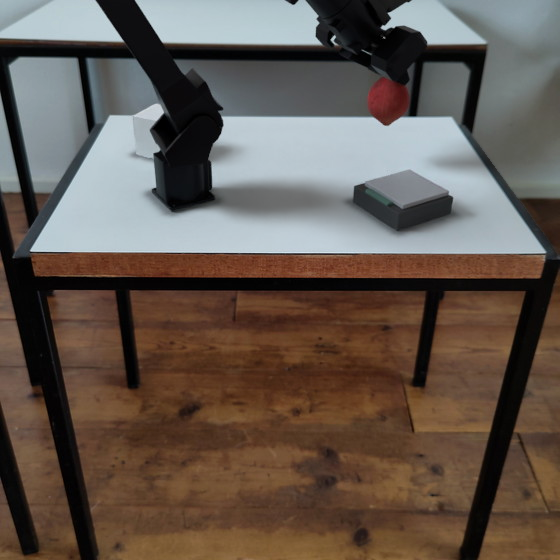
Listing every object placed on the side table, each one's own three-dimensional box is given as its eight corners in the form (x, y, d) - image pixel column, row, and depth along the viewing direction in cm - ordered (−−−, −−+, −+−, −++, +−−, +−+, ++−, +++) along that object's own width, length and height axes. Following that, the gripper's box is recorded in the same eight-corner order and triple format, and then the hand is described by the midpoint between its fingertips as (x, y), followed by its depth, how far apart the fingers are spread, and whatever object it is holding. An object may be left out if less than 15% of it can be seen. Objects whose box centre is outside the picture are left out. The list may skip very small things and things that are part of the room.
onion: (365, 131, 96) (371, 74, 92) (364, 117, 101) (369, 62, 97) (407, 134, 96) (415, 76, 92) (404, 119, 101) (411, 64, 97)
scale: (396, 231, 85) (399, 209, 83) (352, 202, 91) (354, 181, 89) (450, 213, 89) (454, 192, 87) (404, 186, 95) (407, 166, 94)
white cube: (158, 141, 107) (155, 103, 104) (192, 148, 105) (190, 109, 102) (136, 154, 103) (132, 115, 99) (170, 162, 101) (167, 122, 97)
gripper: (426, -41, 77) (484, 50, 88) (341, -64, 91) (399, 17, 102) (359, 37, 79) (424, 118, 89) (285, 3, 92) (349, 76, 103)
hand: (399, 78), depth 96 cm, fingers closed on onion, 3 cm apart
